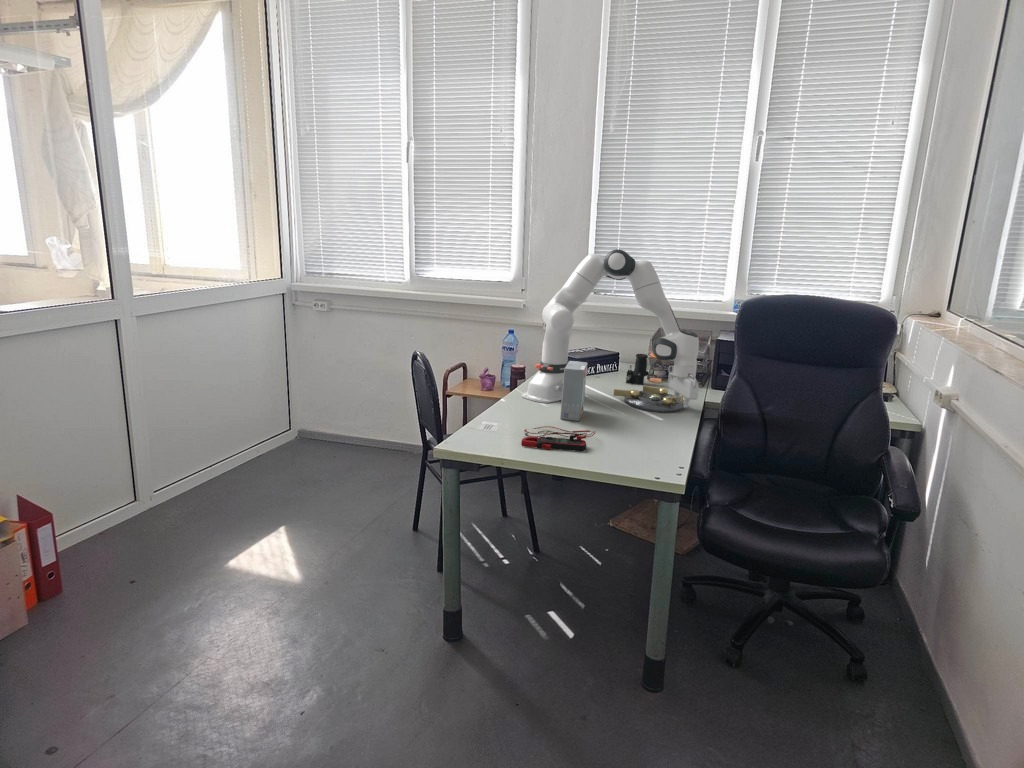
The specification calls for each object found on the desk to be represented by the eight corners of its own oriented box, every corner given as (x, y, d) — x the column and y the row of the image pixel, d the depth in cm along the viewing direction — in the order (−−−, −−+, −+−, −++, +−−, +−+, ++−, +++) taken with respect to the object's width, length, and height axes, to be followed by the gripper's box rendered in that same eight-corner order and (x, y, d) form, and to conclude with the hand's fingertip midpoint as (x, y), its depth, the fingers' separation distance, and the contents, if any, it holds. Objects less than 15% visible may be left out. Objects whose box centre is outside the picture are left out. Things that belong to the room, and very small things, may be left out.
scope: (630, 351, 301) (651, 354, 299) (627, 380, 305) (648, 382, 302) (627, 355, 294) (649, 357, 291) (624, 383, 298) (646, 386, 295)
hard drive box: (580, 421, 239) (584, 370, 234) (559, 419, 241) (563, 368, 236) (583, 410, 254) (587, 361, 249) (564, 408, 255) (568, 359, 250)
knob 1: (638, 396, 269) (639, 389, 269) (639, 398, 266) (639, 391, 265) (613, 394, 271) (613, 387, 270) (613, 396, 267) (614, 389, 266)
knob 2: (667, 405, 257) (668, 399, 256) (660, 403, 260) (661, 396, 259) (684, 402, 263) (685, 395, 262) (678, 400, 266) (679, 393, 265)
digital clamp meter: (596, 443, 206) (519, 436, 209) (594, 456, 207) (518, 449, 210) (595, 420, 228) (526, 414, 231) (594, 432, 230) (525, 426, 232)
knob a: (668, 394, 275) (668, 387, 274) (666, 396, 271) (667, 389, 271) (643, 390, 278) (644, 384, 278) (642, 392, 275) (642, 386, 274)
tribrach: (669, 416, 251) (671, 407, 250) (613, 403, 265) (614, 394, 264) (693, 403, 270) (695, 395, 269) (640, 392, 284) (641, 383, 283)
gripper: (704, 377, 244) (700, 411, 247) (681, 365, 264) (677, 397, 267) (688, 377, 243) (685, 412, 246) (666, 365, 262) (663, 398, 266)
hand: (681, 404), depth 257 cm, fingers open, 6 cm apart
